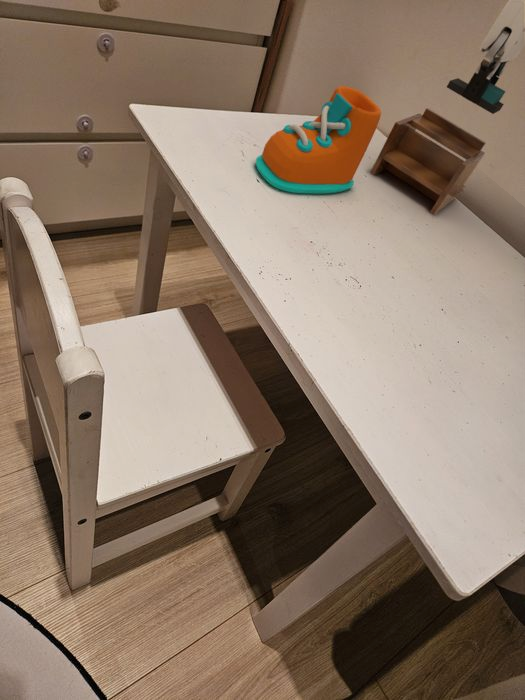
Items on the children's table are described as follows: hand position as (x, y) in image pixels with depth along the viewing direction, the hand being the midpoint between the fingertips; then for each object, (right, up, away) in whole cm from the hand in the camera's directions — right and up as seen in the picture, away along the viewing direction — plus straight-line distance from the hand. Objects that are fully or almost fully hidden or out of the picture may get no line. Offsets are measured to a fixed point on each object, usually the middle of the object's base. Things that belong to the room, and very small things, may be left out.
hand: (474, 97), depth 85 cm
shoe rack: (-7, -12, +13) cm, 19 cm away
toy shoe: (-32, -14, +2) cm, 35 cm away
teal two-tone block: (0, 0, 0) cm, 0 cm away
